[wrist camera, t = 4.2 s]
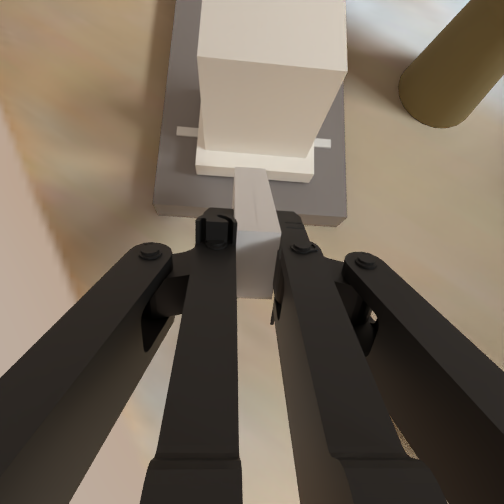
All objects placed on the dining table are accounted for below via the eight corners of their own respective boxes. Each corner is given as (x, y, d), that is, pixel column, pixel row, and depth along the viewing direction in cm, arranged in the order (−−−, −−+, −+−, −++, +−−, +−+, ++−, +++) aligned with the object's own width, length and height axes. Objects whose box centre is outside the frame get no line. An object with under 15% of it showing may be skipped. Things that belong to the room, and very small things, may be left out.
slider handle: (309, 182, 21) (360, 94, 14) (196, 174, 21) (181, 76, 13) (309, 100, 23) (356, -25, 15) (203, 90, 22) (194, -45, 14)
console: (336, 226, 23) (347, 216, 21) (158, 215, 22) (152, 203, 20) (331, -25, 29) (340, -53, 27) (186, -42, 28) (184, -73, 26)
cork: (409, 131, 26) (541, -12, 15) (390, 63, 27) (499, -112, 16) (481, 125, 26) (658, -16, 16) (459, 59, 28) (608, -113, 17)
